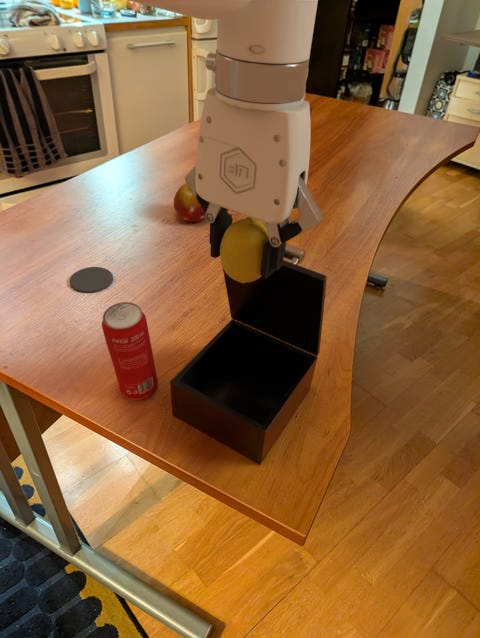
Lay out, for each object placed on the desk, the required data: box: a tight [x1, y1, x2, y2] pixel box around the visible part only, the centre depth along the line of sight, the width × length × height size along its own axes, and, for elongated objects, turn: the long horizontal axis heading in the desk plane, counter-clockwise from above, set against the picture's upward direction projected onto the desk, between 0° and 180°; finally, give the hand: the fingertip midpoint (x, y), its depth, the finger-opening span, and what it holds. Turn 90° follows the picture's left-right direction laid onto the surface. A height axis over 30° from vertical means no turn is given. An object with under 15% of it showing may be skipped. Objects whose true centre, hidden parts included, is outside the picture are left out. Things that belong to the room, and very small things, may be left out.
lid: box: [222, 243, 328, 357], centre depth 63 cm, size 16×15×5 cm
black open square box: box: [169, 318, 318, 466], centre depth 66 cm, size 16×15×7 cm
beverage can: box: [101, 301, 158, 401], centre depth 65 cm, size 6×6×15 cm
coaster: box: [69, 266, 114, 294], centre depth 89 cm, size 8×8×1 cm
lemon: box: [219, 216, 269, 283], centre depth 49 cm, size 6×6×8 cm
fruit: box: [173, 182, 206, 223], centre depth 107 cm, size 10×9×8 cm
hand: (244, 260), depth 50 cm, fingers closed on lemon, 5 cm apart
